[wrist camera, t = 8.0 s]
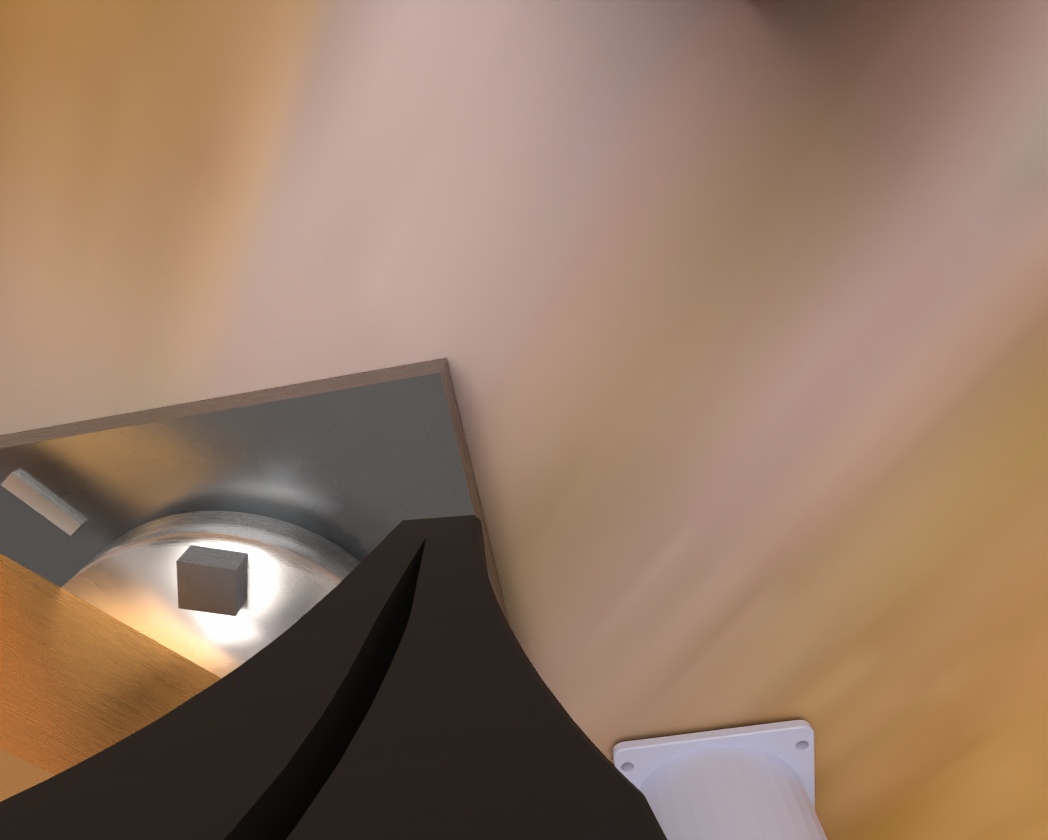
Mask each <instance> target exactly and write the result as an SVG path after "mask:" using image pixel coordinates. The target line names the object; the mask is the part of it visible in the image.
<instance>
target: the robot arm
mask: <svg viewBox="0 0 1048 840" xmlns="http://www.w3.org/2000/svg"><path fill="white" fill-rule="evenodd" d="M613 759H614V765H615V766H614V765H613V764H612V763H611V762H610V761H609V760H608V759H607V758H606V756H605V755H604V754H603V753H602V752H601V751H600V750H599V749H598V748H597V747H596V746H595V745H594V744H593V742H592V741H591V740H590V739H589V738H588V737H587V736H586V735H585V733H584V732H583V731H582V730H581V729H580V728H579V727H578V725H577V724H576V723H575V722H574V721H573V720H572V718H571V717H570V716H569V714H568V713H567V712H566V710H565V709H564V708H563V707H562V705H561V704H560V703H559V701H558V700H557V699H556V697H555V696H554V695H553V693H552V692H551V691H550V689H549V688H548V687H547V686H546V684H545V683H544V682H543V680H542V679H541V677H540V676H539V674H538V673H537V671H536V670H535V668H534V667H533V665H532V664H531V662H530V661H529V659H528V657H527V656H526V654H525V653H524V651H523V649H522V647H521V646H520V644H519V642H518V641H517V639H516V637H515V635H514V633H513V632H512V630H511V628H510V626H509V624H508V622H507V620H506V618H505V616H504V614H503V611H502V609H501V607H500V605H499V603H498V601H497V598H496V596H495V593H494V591H493V588H492V586H491V583H490V580H489V576H488V569H487V562H486V554H485V547H484V540H483V532H482V525H481V520H480V519H478V518H477V517H476V516H475V515H466V516H453V517H440V518H427V519H414V520H403V521H402V522H401V523H399V524H398V525H397V526H396V527H395V528H394V529H393V530H392V531H391V532H390V533H389V534H388V535H387V536H386V537H385V538H384V539H383V540H382V541H381V542H380V543H379V544H378V545H377V547H376V548H375V549H374V550H373V551H372V552H371V553H370V554H369V555H368V556H367V557H366V558H365V559H364V560H363V561H362V562H361V563H360V564H359V565H358V566H357V567H356V568H355V569H354V570H353V571H351V572H350V573H349V574H348V575H347V576H346V577H345V578H344V579H343V580H342V581H341V582H340V583H339V584H338V585H337V586H336V587H335V588H334V589H333V590H332V591H331V592H329V593H328V594H327V595H326V596H325V597H324V598H323V599H322V600H320V601H319V602H318V603H317V604H316V605H315V606H314V607H313V608H311V609H310V610H309V611H308V612H307V613H306V614H305V615H304V616H302V617H301V618H300V619H299V620H298V621H297V622H296V623H295V624H293V625H292V626H291V627H290V628H289V629H287V630H286V631H285V632H284V633H282V634H281V635H280V636H279V637H277V638H276V639H275V640H274V641H272V642H271V643H270V644H269V645H267V646H266V647H265V648H263V649H262V650H261V651H259V652H258V653H256V654H255V655H254V656H252V657H251V658H250V659H248V660H247V661H246V662H244V663H243V664H242V665H240V666H239V667H237V668H236V669H235V670H233V671H232V672H230V673H229V674H227V675H226V676H225V677H223V678H222V679H220V680H218V681H217V682H215V683H214V684H212V685H211V686H209V687H208V688H206V689H204V690H203V691H201V692H200V693H198V694H197V695H195V696H194V697H192V698H190V699H189V700H187V701H186V702H184V703H183V704H181V705H180V706H178V707H176V708H175V709H173V710H172V711H170V712H169V713H167V714H166V715H164V716H162V717H161V718H159V719H157V720H156V721H154V722H152V723H151V724H149V725H147V726H145V727H144V728H142V729H140V730H138V731H137V732H135V733H133V734H131V735H130V736H128V737H126V738H124V739H123V740H121V741H119V742H117V743H116V744H114V745H112V746H110V747H108V748H106V749H104V750H103V751H101V752H99V753H97V754H95V755H93V756H91V757H90V758H88V759H86V760H84V761H82V762H80V763H78V764H77V765H75V766H73V767H71V768H69V769H67V770H65V771H63V772H61V773H59V774H57V775H55V776H53V777H51V778H49V779H47V780H45V781H43V782H41V783H39V784H37V785H35V786H33V787H30V788H28V789H26V790H24V791H22V792H20V793H18V794H16V795H14V796H11V797H9V798H7V799H5V800H3V801H1V802H0V840H828V839H827V837H826V835H825V832H824V830H823V828H822V826H821V823H820V821H819V819H818V817H817V814H816V812H815V772H814V732H813V729H812V727H811V725H810V724H809V723H808V722H807V721H804V720H792V721H784V722H776V723H768V724H760V725H752V726H744V727H737V728H729V729H721V730H713V731H705V732H697V733H689V734H681V735H673V736H665V737H657V738H649V739H641V740H633V741H625V742H621V743H618V744H617V745H615V746H614V748H613ZM626 762H628V763H626Z"/></svg>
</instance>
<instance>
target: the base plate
mask: <svg viewBox="0 0 1048 840" xmlns="http://www.w3.org/2000/svg"><path fill="white" fill-rule="evenodd" d="M196 511H233V512H243V513H251V514H256V515H261V516H266V517H270V518H275V519H278V520H281V521H284V522H287V523H290V524H293V525H297V526H299V527H301V528H304V529H306V530H308V531H311V532H313V533H315V534H317V535H320V536H322V537H323V538H325V539H327V540H329V541H330V542H332V543H334V544H336V545H337V546H339V547H341V548H342V549H344V550H345V551H347V552H348V553H349V554H351V555H352V556H353V557H355V558H356V559H357V560H359V561H360V562H362V561H363V560H364V559H365V558H366V557H367V556H368V555H369V554H370V553H371V552H372V551H373V550H374V549H375V548H376V547H377V545H378V544H379V543H380V542H381V541H382V540H383V539H384V538H385V537H386V536H387V535H388V534H389V533H390V532H391V531H392V530H393V529H394V528H395V527H396V526H397V525H398V524H399V523H401V522H402V521H403V520H414V519H427V518H440V517H453V516H466V515H475V516H476V517H477V518H478V519H480V520H481V525H482V532H483V540H484V547H485V554H486V562H487V569H488V576H489V580H490V583H491V586H492V588H493V591H494V593H495V596H496V598H497V601H498V603H499V605H500V607H501V609H502V611H503V614H504V616H505V618H506V620H507V622H508V624H509V621H508V617H507V613H506V609H505V604H504V600H503V596H502V592H501V587H500V583H499V579H498V575H497V570H496V566H495V562H494V558H493V553H492V549H491V545H490V541H489V537H488V532H487V528H486V524H485V520H484V515H483V511H482V507H481V503H480V498H479V494H478V490H477V486H476V481H475V477H474V473H473V469H472V464H471V460H470V456H469V452H468V447H467V443H466V439H465V435H464V430H463V426H462V422H461V418H460V413H459V409H458V405H457V401H456V396H455V392H454V388H453V384H452V380H451V375H450V371H449V367H448V363H447V358H443V359H438V360H432V361H426V362H420V363H415V364H409V365H403V366H397V367H392V368H386V369H380V370H374V371H369V372H363V373H357V374H351V375H346V376H340V377H334V378H328V379H323V380H317V381H311V382H305V383H300V384H294V385H288V386H282V387H277V388H271V389H265V390H260V391H254V392H248V393H242V394H237V395H231V396H225V397H219V398H214V399H208V400H202V401H196V402H191V403H185V404H179V405H173V406H168V407H162V408H156V409H150V410H145V411H139V412H133V413H127V414H122V415H116V416H110V417H104V418H99V419H93V420H87V421H81V422H76V423H70V424H64V425H58V426H53V427H47V428H41V429H35V430H30V431H24V432H18V433H12V434H7V435H1V436H0V554H2V555H4V556H6V557H7V558H9V559H11V560H13V561H14V562H16V563H18V564H20V565H22V566H23V567H25V568H27V569H29V570H30V571H32V572H34V573H36V574H37V575H39V576H41V577H43V578H45V579H46V580H48V581H50V582H52V583H53V584H55V585H57V586H59V587H62V586H63V585H64V584H66V583H67V582H68V581H69V580H70V579H71V578H72V577H73V576H74V575H76V574H77V573H78V572H79V571H80V570H81V569H82V568H83V567H84V566H86V565H87V564H88V563H89V562H90V561H91V560H92V559H93V558H94V557H95V556H97V555H98V554H99V553H100V552H101V551H102V550H103V549H105V548H106V547H107V546H108V545H109V544H110V543H112V542H113V541H114V540H115V539H117V538H118V537H120V536H122V535H123V534H125V533H127V532H128V531H130V530H132V529H133V528H136V527H138V526H141V525H143V524H145V523H148V522H150V521H152V520H156V519H160V518H163V517H167V516H171V515H174V514H181V513H188V512H196Z"/></svg>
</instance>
